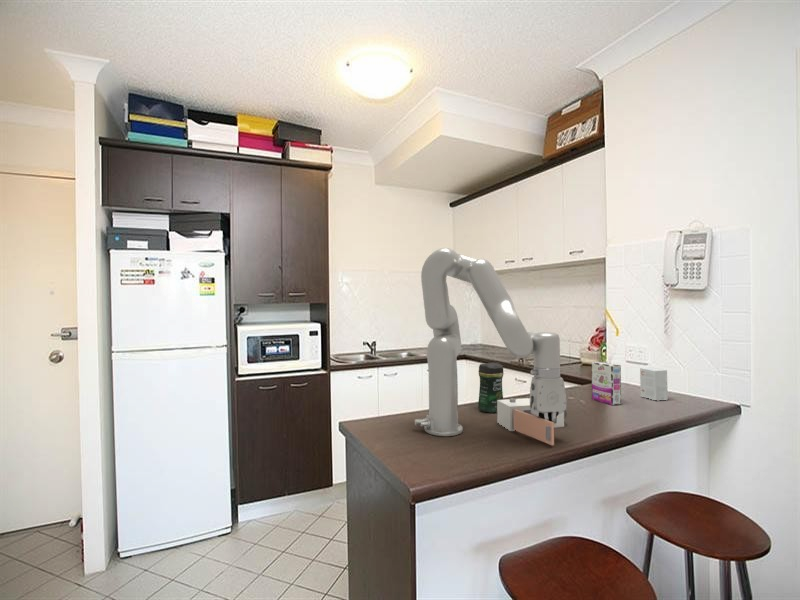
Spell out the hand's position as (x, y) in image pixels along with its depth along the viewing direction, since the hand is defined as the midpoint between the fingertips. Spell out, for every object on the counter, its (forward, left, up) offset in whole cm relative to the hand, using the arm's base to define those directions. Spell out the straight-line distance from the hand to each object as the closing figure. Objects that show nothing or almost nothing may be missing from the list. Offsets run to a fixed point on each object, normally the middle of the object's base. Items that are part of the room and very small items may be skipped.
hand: (547, 433), depth 116 cm
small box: (+75, +36, -2) cm, 83 cm away
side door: (-4, +2, -1) cm, 5 cm away
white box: (+4, +15, -2) cm, 16 cm away
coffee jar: (-2, +35, -2) cm, 35 cm away
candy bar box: (+51, +36, -2) cm, 62 cm away
